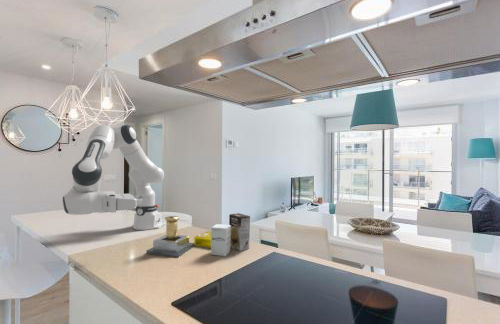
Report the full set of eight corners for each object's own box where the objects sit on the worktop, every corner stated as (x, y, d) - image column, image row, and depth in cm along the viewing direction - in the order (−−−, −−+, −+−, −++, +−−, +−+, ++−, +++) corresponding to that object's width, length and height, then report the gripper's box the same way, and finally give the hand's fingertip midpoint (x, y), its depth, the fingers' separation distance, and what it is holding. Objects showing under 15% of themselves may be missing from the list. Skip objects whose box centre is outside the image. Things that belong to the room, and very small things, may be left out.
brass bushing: (166, 244, 124) (166, 215, 125) (179, 244, 125) (179, 215, 125) (163, 249, 118) (163, 218, 118) (177, 248, 119) (177, 218, 119)
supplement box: (210, 255, 116) (210, 227, 116) (216, 249, 123) (216, 223, 123) (225, 256, 114) (226, 228, 114) (230, 251, 121) (231, 224, 121)
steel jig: (165, 243, 131) (165, 232, 131) (194, 246, 128) (194, 235, 128) (146, 253, 116) (146, 241, 116) (178, 257, 112) (178, 244, 112)
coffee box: (228, 246, 128) (228, 214, 128) (238, 244, 132) (238, 212, 132) (239, 251, 121) (240, 217, 121) (250, 248, 126) (250, 215, 126)
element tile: (217, 249, 124) (217, 240, 124) (192, 245, 130) (192, 236, 130) (232, 241, 138) (232, 232, 138) (208, 238, 144) (208, 229, 144)
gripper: (108, 205, 117) (140, 202, 124) (111, 213, 100) (149, 210, 107) (108, 191, 117) (141, 189, 124) (111, 197, 99) (149, 195, 107)
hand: (144, 199), depth 115 cm, fingers open, 8 cm apart
